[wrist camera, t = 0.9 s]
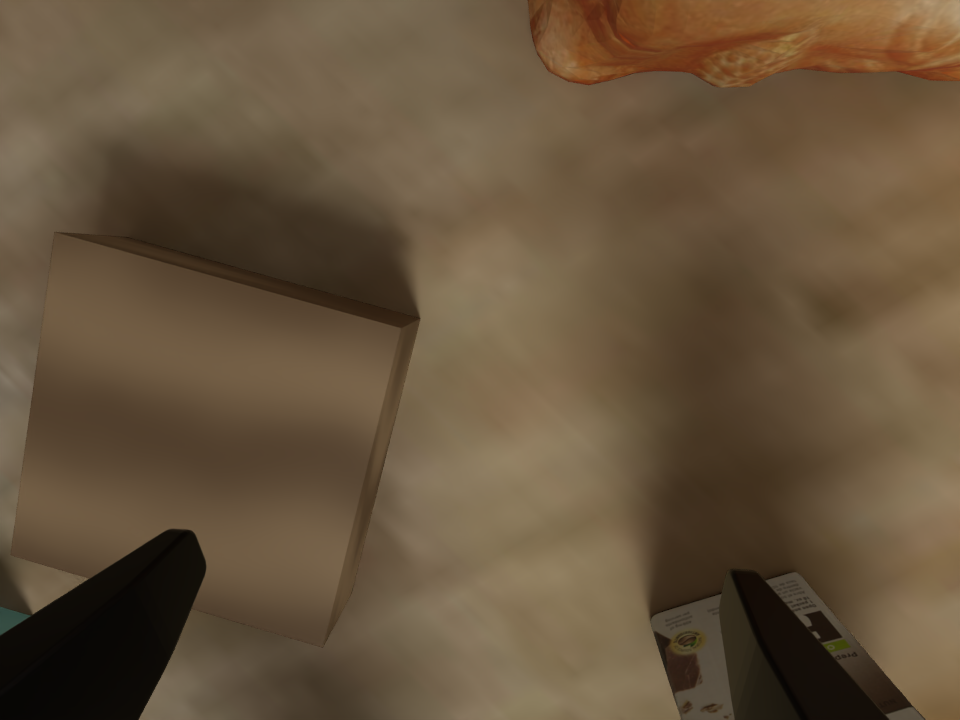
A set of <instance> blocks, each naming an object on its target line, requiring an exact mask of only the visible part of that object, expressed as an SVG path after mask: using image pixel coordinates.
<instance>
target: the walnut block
mask: <svg viewBox="0 0 960 720" xmlns="http://www.w3.org/2000/svg"><path fill="white" fill-rule="evenodd" d="M419 322H420V318H417V317H413V316H409V315H406V314H402V313H399V312H395V311H391V310H388V309H384V308H381V307H377V306H373V305H370V304H366V303H363V302H359V301H355V300H352V299H348V298H344V297H341V296H337V295H334V294H330V293H326V292H323V291H319V290H316V289H312V288H308V287H305V286H301V285H298V284H294V283H290V282H287V281H283V280H280V279H276V278H272V277H269V276H265V275H261V274H258V273H254V272H251V271H247V270H243V269H240V268H236V267H233V266H229V265H225V264H222V263H218V262H215V261H211V260H207V259H204V258H200V257H196V256H193V255H189V254H186V253H182V252H178V251H175V250H171V249H168V248H164V247H160V246H157V245H153V244H150V243H146V242H142V241H139V240H135V239H132V238H128V237H117V236H103V235H89V234H75V233H61V232H54V240H53V247H52V254H51V262H50V269H49V276H48V284H47V291H46V298H45V306H44V313H43V320H42V328H41V335H40V342H39V350H38V357H37V364H36V372H35V379H34V386H33V394H32V401H31V408H30V416H29V423H28V430H27V438H26V445H25V452H24V460H23V467H22V474H21V482H20V489H19V496H18V504H17V511H16V518H15V526H14V533H13V540H12V548H11V555H12V556H15V557H18V558H22V559H25V560H29V561H32V562H35V563H39V564H42V565H45V566H49V567H52V568H56V569H59V570H62V571H66V572H69V573H72V574H76V575H79V576H83V577H86V578H89V579H90V578H91V577H93V576H94V575H96V574H98V573H99V572H101V571H102V570H104V569H105V568H107V567H109V566H110V565H112V564H113V563H115V562H117V561H118V560H120V559H121V558H123V557H124V556H126V555H128V554H129V553H131V552H132V551H134V550H135V549H137V548H139V547H140V546H142V545H143V544H145V543H147V542H148V541H150V540H151V539H153V538H154V537H156V536H158V535H159V534H161V533H162V532H164V531H166V530H168V529H188V530H192V531H193V532H194V533H195V534H196V536H197V539H198V542H199V544H200V547H201V549H202V552H203V555H204V557H205V560H206V573H205V577H204V579H203V582H202V584H201V587H200V589H199V591H198V594H197V596H196V599H195V601H194V603H193V606H192V608H191V609H194V610H197V611H201V612H204V613H207V614H211V615H214V616H218V617H221V618H224V619H228V620H231V621H234V622H238V623H241V624H245V625H248V626H251V627H255V628H258V629H261V630H265V631H268V632H272V633H275V634H278V635H282V636H285V637H288V638H292V639H295V640H299V641H302V642H305V643H309V644H312V645H315V646H319V647H322V648H323V646H324V644H325V643H326V641H327V639H328V637H329V635H330V633H331V631H332V629H333V627H334V626H335V624H336V622H337V620H338V618H339V616H340V614H341V612H342V610H343V609H344V607H345V605H346V603H347V601H348V599H349V597H350V595H351V593H352V590H353V586H354V582H355V578H356V574H357V570H358V566H359V562H360V558H361V554H362V550H363V546H364V542H365V538H366V534H367V530H368V526H369V522H370V518H371V514H372V510H373V506H374V502H375V498H376V494H377V490H378V486H379V482H380V478H381V474H382V470H383V466H384V462H385V458H386V454H387V450H388V446H389V442H390V438H391V434H392V430H393V426H394V422H395V418H396V414H397V410H398V406H399V402H400V398H401V394H402V390H403V386H404V382H405V378H406V374H407V370H408V366H409V362H410V358H411V354H412V350H413V346H414V342H415V338H416V334H417V330H418V326H419Z"/></svg>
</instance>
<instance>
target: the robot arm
mask: <svg viewBox="0 0 960 720" xmlns="http://www.w3.org/2000/svg"><path fill="white" fill-rule="evenodd" d="M205 573H206V560H205V557H204V555H203V552H202V549H201V547H200V544H199V542H198V539H197V536H196V534H195V533H194V532H193V531H192V530H188V529H168V530H166V531H164V532H162V533H161V534H159V535H158V536H156V537H154V538H153V539H151V540H150V541H148V542H147V543H145V544H143V545H142V546H140V547H139V548H137V549H135V550H134V551H132V552H131V553H129V554H128V555H126V556H124V557H123V558H121V559H120V560H118V561H117V562H115V563H113V564H112V565H110V566H109V567H107V568H105V569H104V570H102V571H101V572H99V573H98V574H96V575H94V576H93V577H91V578H90V579H88V580H87V581H85V582H83V583H82V584H80V585H79V586H77V587H75V588H74V589H72V590H71V591H69V592H68V593H66V594H64V595H63V596H61V597H60V598H58V599H56V600H55V601H53V602H52V603H50V604H49V605H47V606H45V607H44V608H42V609H41V610H39V611H38V612H36V613H34V614H33V615H31V616H30V617H28V618H26V619H25V620H23V621H22V622H20V623H19V624H17V625H15V626H14V627H12V628H11V629H9V630H7V631H6V632H4V633H3V634H1V635H0V720H139V718H140V716H141V714H142V712H143V710H144V708H145V706H146V704H147V703H148V701H149V699H150V697H151V695H152V693H153V691H154V689H155V687H156V686H157V684H158V682H159V680H160V678H161V676H162V674H163V672H164V670H165V668H166V666H167V664H168V662H169V660H170V658H171V656H172V654H173V651H174V649H175V647H176V645H177V642H178V640H179V637H180V635H181V632H182V630H183V628H184V625H185V623H186V620H187V618H188V616H189V613H190V611H191V608H192V606H193V603H194V601H195V599H196V596H197V594H198V591H199V589H200V587H201V584H202V582H203V579H204V577H205ZM719 619H720V626H721V633H722V640H723V646H724V653H725V660H726V667H727V674H728V680H729V687H730V694H731V701H732V707H733V713H734V719H735V720H890V719H889V718H888V717H887V716H886V715H885V714H884V713H883V711H882V710H881V709H880V708H879V707H878V706H877V705H876V704H875V703H874V701H873V700H872V699H871V698H870V697H869V696H868V695H867V694H866V692H865V691H864V690H863V689H862V688H861V687H860V686H859V685H858V684H857V682H856V681H855V680H854V679H853V678H852V677H851V676H850V675H849V673H848V672H847V671H846V670H845V669H844V668H843V667H842V666H841V665H840V663H839V662H838V661H837V660H836V659H835V658H834V657H833V656H832V654H831V653H830V652H829V651H828V650H827V649H826V648H825V647H824V645H823V644H822V643H821V642H820V641H819V640H818V639H817V638H816V637H815V635H814V634H813V633H812V632H811V631H810V630H809V629H808V628H807V626H806V625H805V624H804V623H803V622H802V621H801V620H800V619H799V618H798V616H797V615H796V614H795V613H794V612H793V611H792V610H791V609H790V607H789V606H788V605H787V604H786V603H785V602H784V601H783V600H782V599H781V597H780V596H779V595H778V594H777V593H776V592H775V591H774V590H773V588H772V587H771V586H770V585H769V584H768V583H767V582H766V581H765V580H764V578H763V577H762V576H761V575H760V574H759V573H757V572H756V571H753V570H743V569H730V570H728V572H727V574H726V577H725V581H724V586H723V590H722V594H721V599H720V603H719Z"/></svg>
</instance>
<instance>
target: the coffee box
mask: <svg viewBox="0 0 960 720" xmlns="http://www.w3.org/2000/svg"><path fill="white" fill-rule="evenodd" d="M765 581H766V582H767V583H768V584H769V585H770V586H771V587H772V588H773V590H774V591H775V592H776V593H777V594H778V595H779V596H780V597H781V599H782V600H783V601H784V602H785V603H786V604H787V605H788V606H789V607H790V609H791V610H792V611H793V612H794V613H795V614H796V615H797V616H798V618H799V619H800V620H801V621H802V622H803V623H804V624H805V625H806V626H807V628H808V629H809V630H810V631H811V632H812V633H813V634H814V635H815V637H816V638H817V639H818V640H819V641H820V642H821V643H822V644H823V645H824V647H825V648H826V649H827V650H828V651H829V652H830V653H831V654H832V656H833V657H834V658H835V659H836V660H837V661H838V662H839V663H840V665H841V666H842V667H843V668H844V669H845V670H846V671H847V672H848V673H849V675H850V676H851V677H852V678H853V679H854V680H855V681H856V682H857V684H858V685H859V686H860V687H861V688H862V689H863V690H864V691H865V692H866V694H867V695H868V696H869V697H870V698H871V699H872V700H873V701H874V703H875V704H876V705H877V706H878V707H879V708H880V709H881V710H882V711H883V713H884V714H885V715H886V716H887V717H888V718H889V719H890V720H925V719H924V717H923V716H922V715H921V714H920V713H919V712H918V711H917V710H916V709H915V708H914V707H913V706H912V705H911V703H910V702H909V701H908V700H907V699H906V697H905V696H904V695H903V694H902V693H901V692H900V690H899V689H898V688H897V687H896V686H895V685H894V684H893V683H892V681H891V680H890V679H889V678H888V677H887V676H886V675H885V673H884V672H883V671H882V670H881V669H880V667H879V666H878V665H877V664H876V662H875V661H874V660H873V659H872V658H871V657H870V656H869V655H868V653H867V652H866V651H865V650H864V649H863V647H862V646H861V645H860V644H859V643H858V641H857V640H856V639H855V638H854V637H853V636H852V635H851V633H850V632H849V631H848V630H847V629H846V628H845V627H844V626H843V624H842V623H841V622H840V621H839V620H838V618H837V617H836V616H835V615H834V614H833V613H832V611H831V610H830V609H829V608H828V607H827V606H826V605H825V603H824V602H823V601H822V600H821V599H820V597H819V596H818V595H817V594H816V593H815V592H814V590H813V589H812V588H811V587H810V586H809V585H808V583H807V582H806V581H805V580H804V578H803V577H802V576H801V575H800V574H799V573H796V572H793V573H789V574H785V575H782V576H779V577H776V578H772V579H769V580H765ZM720 599H721V594H719V595H716V596H713V597H710V598H706V599H703V600H700V601H696V602H693V603H690V604H686V605H683V606H680V607H677V608H673V609H670V610H667V611H664V612H661V613H658V614H656V615H654V616H653V617H652V619H651V627H652V630H653V633H654V636H655V639H656V642H657V645H658V649H659V652H660V655H661V658H662V661H663V664H664V668H665V671H666V674H667V677H668V680H669V683H670V686H671V689H672V692H673V696H674V699H675V702H676V705H677V708H678V711H679V714H680V717H681V720H735V719H734V713H733V707H732V701H731V694H730V687H729V680H728V674H727V667H726V660H725V653H724V646H723V640H722V633H721V626H720V619H719V603H720Z"/></svg>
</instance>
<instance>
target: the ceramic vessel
mask: <svg viewBox="0 0 960 720" xmlns="http://www.w3.org/2000/svg"><path fill="white" fill-rule="evenodd" d="M528 5H529V14H530V26H531V32H532V37H533V41H534V44H535V48H536V51H537V54H538V56H539V57H540V59H541V60H542V62H543V63H544V65H545V67H546V68H547V70H548V71H549V72H551V73H553V74H555V75H557V76H559V77H561V78H563V79H565V80H567V81H568V82H574V83H580V84H585V85H591V84H595V83H600V82H604V81H609V80H613V79H616V78H620V77H623V76H626V75H630V74H633V73H639V72H650V71H676V72H687V73H692V74H694V75H696V76H697V77H699V78H701V79H702V80H704V81H706V82H707V83H709V84H711V85H713V86H716V87H746V86H751V85H753V84H754V83H756V82H758V81H760V80H762V79H764V78H766V77H768V76H770V75H772V74H774V73H779V72H784V71H789V70H794V69H808V70H817V71H827V72H836V73H860V72H888V71H898V72H901V73H905V74H909V75H912V76H916V77H920V78H923V79H927V80H937V81H960V0H528Z"/></svg>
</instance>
